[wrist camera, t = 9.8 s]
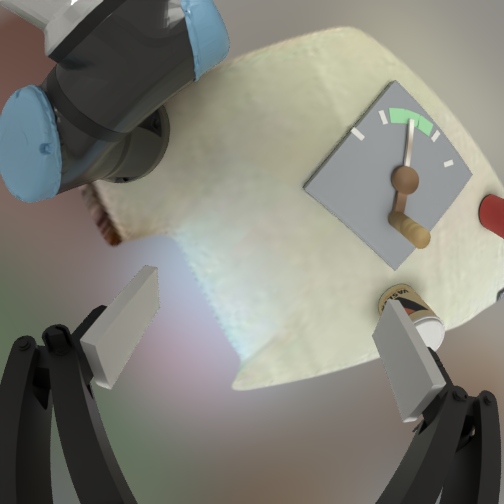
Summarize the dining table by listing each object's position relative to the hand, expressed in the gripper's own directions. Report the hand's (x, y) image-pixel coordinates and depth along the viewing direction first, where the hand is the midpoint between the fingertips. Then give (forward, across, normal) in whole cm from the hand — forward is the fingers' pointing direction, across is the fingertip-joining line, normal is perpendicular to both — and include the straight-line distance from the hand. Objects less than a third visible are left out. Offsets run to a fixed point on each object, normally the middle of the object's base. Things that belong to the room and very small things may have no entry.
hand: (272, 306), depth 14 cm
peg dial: (+24, +18, +7) cm, 31 cm away
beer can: (+27, +41, +6) cm, 49 cm away
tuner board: (+27, +18, +7) cm, 33 cm away
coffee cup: (+27, +25, -14) cm, 40 cm away
